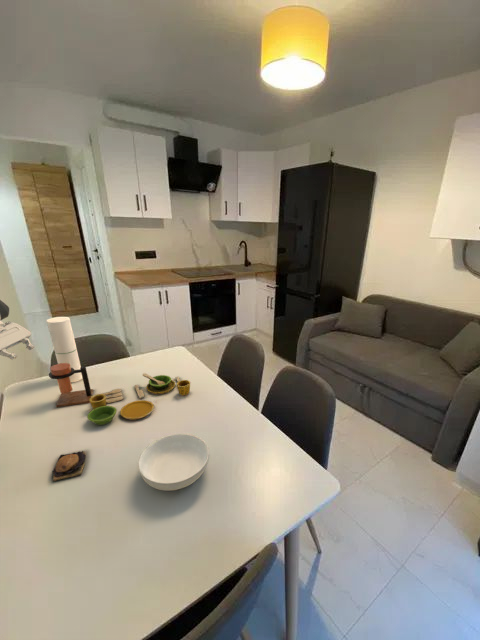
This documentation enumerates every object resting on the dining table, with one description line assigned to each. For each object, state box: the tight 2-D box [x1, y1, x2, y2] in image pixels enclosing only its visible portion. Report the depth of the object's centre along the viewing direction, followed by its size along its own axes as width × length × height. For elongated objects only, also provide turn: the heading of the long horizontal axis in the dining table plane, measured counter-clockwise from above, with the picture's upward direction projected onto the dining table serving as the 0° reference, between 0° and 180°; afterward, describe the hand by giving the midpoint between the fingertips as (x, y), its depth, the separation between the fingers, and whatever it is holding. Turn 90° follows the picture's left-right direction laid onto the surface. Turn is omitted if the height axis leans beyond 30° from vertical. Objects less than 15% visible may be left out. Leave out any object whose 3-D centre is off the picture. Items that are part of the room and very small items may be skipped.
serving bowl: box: [137, 433, 210, 492], centre depth 90 cm, size 21×21×7 cm
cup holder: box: [48, 365, 94, 408], centre depth 122 cm, size 13×10×14 cm
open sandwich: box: [52, 450, 87, 482], centre depth 91 cm, size 11×8×4 cm
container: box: [46, 316, 83, 384], centre depth 135 cm, size 9×9×30 cm
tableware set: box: [86, 372, 191, 426], centre depth 125 cm, size 41×28×6 cm
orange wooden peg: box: [49, 363, 73, 394], centre depth 120 cm, size 7×7×12 cm
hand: (24, 353), depth 114 cm, fingers open, 8 cm apart
